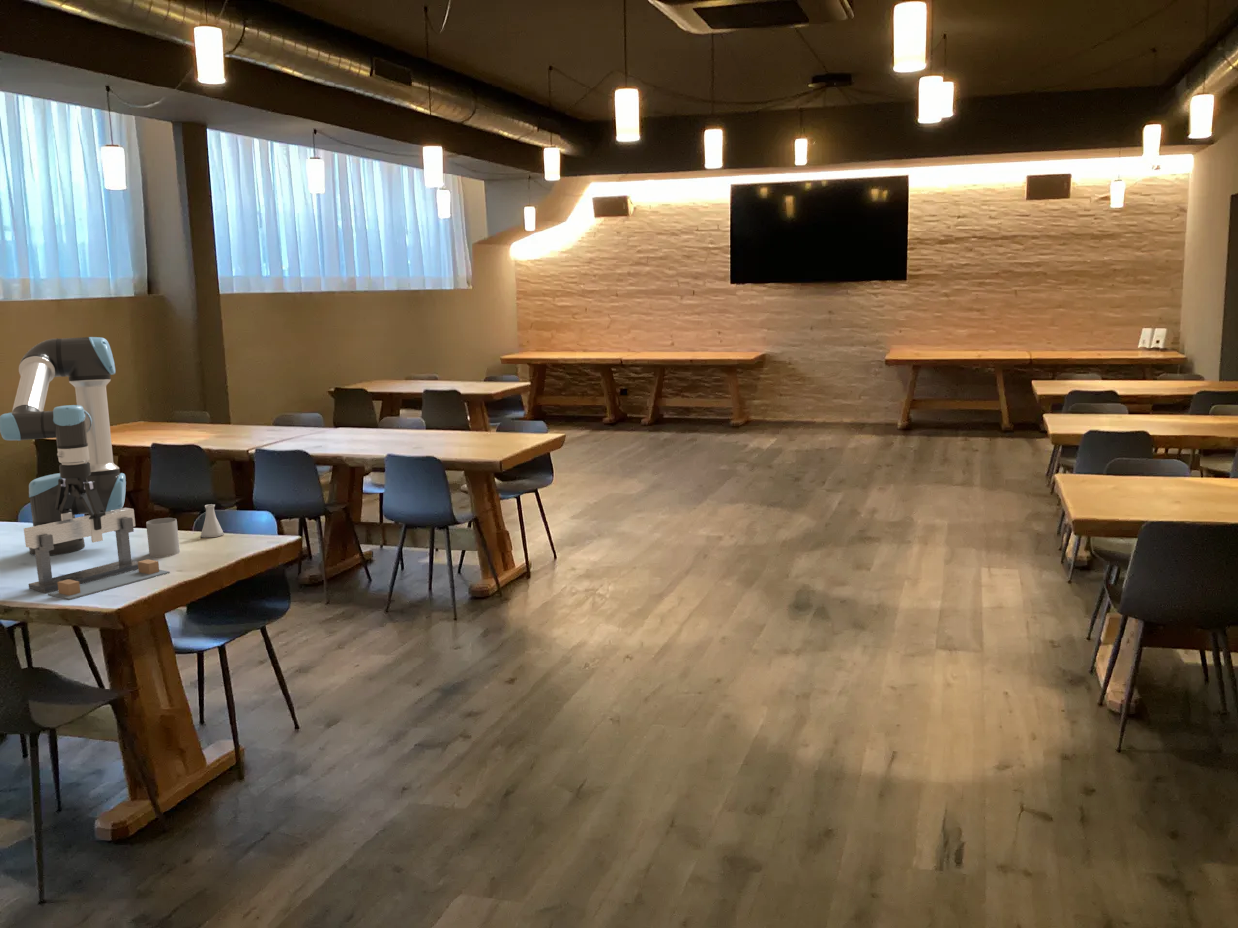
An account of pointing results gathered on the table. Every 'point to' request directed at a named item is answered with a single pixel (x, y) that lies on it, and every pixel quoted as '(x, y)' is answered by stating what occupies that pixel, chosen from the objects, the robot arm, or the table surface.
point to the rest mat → (108, 581)
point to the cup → (162, 537)
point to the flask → (211, 523)
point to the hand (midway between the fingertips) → (83, 538)
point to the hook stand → (88, 575)
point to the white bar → (75, 527)
